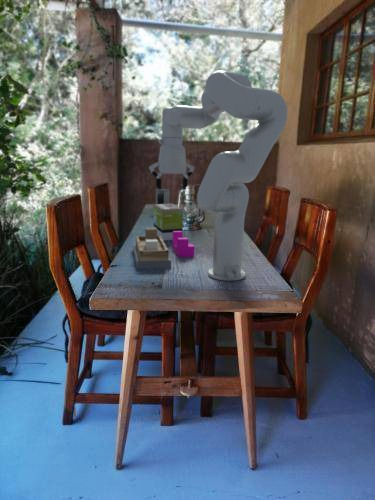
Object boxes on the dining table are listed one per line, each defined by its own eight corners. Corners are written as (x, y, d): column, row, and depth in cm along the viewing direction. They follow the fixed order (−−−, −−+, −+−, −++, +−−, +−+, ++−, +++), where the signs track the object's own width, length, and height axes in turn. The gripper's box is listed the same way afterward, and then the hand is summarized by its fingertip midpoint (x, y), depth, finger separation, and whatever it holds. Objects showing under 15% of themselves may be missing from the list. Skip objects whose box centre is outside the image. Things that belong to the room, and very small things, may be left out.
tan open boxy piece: (168, 260, 142) (168, 235, 139) (140, 261, 140) (139, 235, 138) (160, 243, 165) (160, 222, 162) (135, 244, 163) (135, 222, 160)
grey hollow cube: (154, 211, 258) (154, 188, 254) (178, 211, 261) (179, 188, 257) (156, 215, 245) (156, 191, 241) (182, 215, 247) (182, 191, 243)
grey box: (157, 252, 144) (158, 241, 143) (146, 252, 143) (146, 241, 142) (156, 249, 148) (156, 238, 147) (145, 249, 147) (145, 239, 146)
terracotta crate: (64, 405, 174) (64, 413, 175) (65, 410, 171) (66, 418, 172) (73, 403, 176) (74, 411, 177) (75, 408, 173) (75, 416, 174)
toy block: (194, 257, 158) (194, 239, 156) (178, 258, 157) (178, 239, 155) (186, 247, 172) (187, 230, 170) (172, 248, 171) (172, 231, 169)
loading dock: (171, 268, 143) (171, 260, 142) (137, 269, 140) (137, 261, 140) (162, 249, 167) (162, 242, 167) (133, 250, 165) (132, 243, 164)
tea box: (152, 233, 196) (152, 203, 192) (172, 232, 200) (172, 203, 196) (162, 240, 183) (162, 208, 179) (182, 239, 186) (183, 207, 182)
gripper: (150, 142, 144) (150, 190, 148) (197, 143, 148) (196, 190, 152) (147, 142, 151) (147, 188, 155) (192, 143, 155) (191, 188, 159)
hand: (171, 189), depth 154 cm, fingers open, 9 cm apart
